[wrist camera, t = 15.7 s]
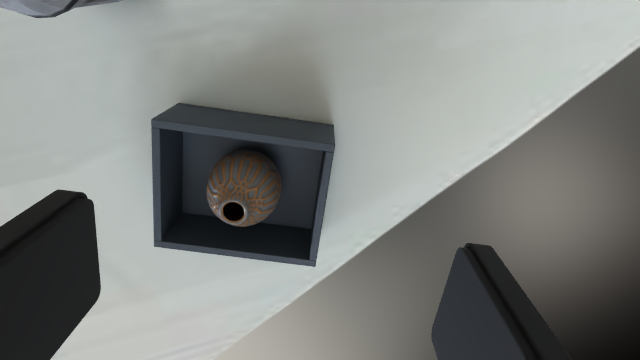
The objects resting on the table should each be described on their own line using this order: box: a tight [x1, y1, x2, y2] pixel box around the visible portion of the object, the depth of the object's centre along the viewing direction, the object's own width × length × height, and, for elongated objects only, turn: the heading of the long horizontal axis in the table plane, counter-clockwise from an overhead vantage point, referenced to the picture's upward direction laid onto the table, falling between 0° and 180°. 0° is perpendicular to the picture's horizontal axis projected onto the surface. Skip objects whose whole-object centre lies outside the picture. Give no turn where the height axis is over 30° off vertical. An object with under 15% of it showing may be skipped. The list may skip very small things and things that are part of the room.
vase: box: [206, 150, 281, 227], centre depth 37 cm, size 7×7×9 cm
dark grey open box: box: [151, 103, 335, 267], centre depth 39 cm, size 12×15×7 cm
